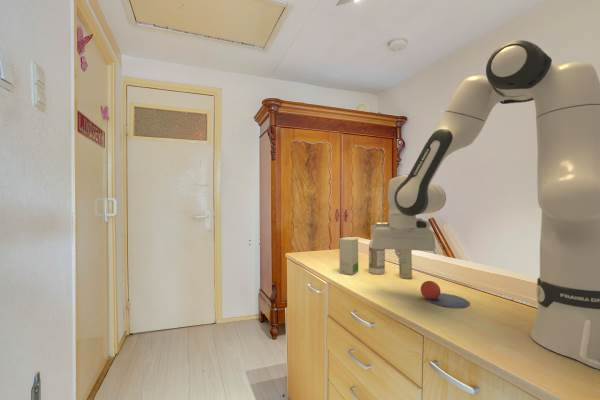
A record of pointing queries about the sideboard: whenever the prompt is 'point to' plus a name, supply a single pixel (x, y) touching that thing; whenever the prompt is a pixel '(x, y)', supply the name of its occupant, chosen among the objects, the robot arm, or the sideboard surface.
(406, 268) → the skincare box
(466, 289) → the sideboard surface
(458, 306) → the dark gray round plate
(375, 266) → the bath foam
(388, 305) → the sideboard surface
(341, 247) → the skincare box
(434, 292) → the ball
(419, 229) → the robot arm
